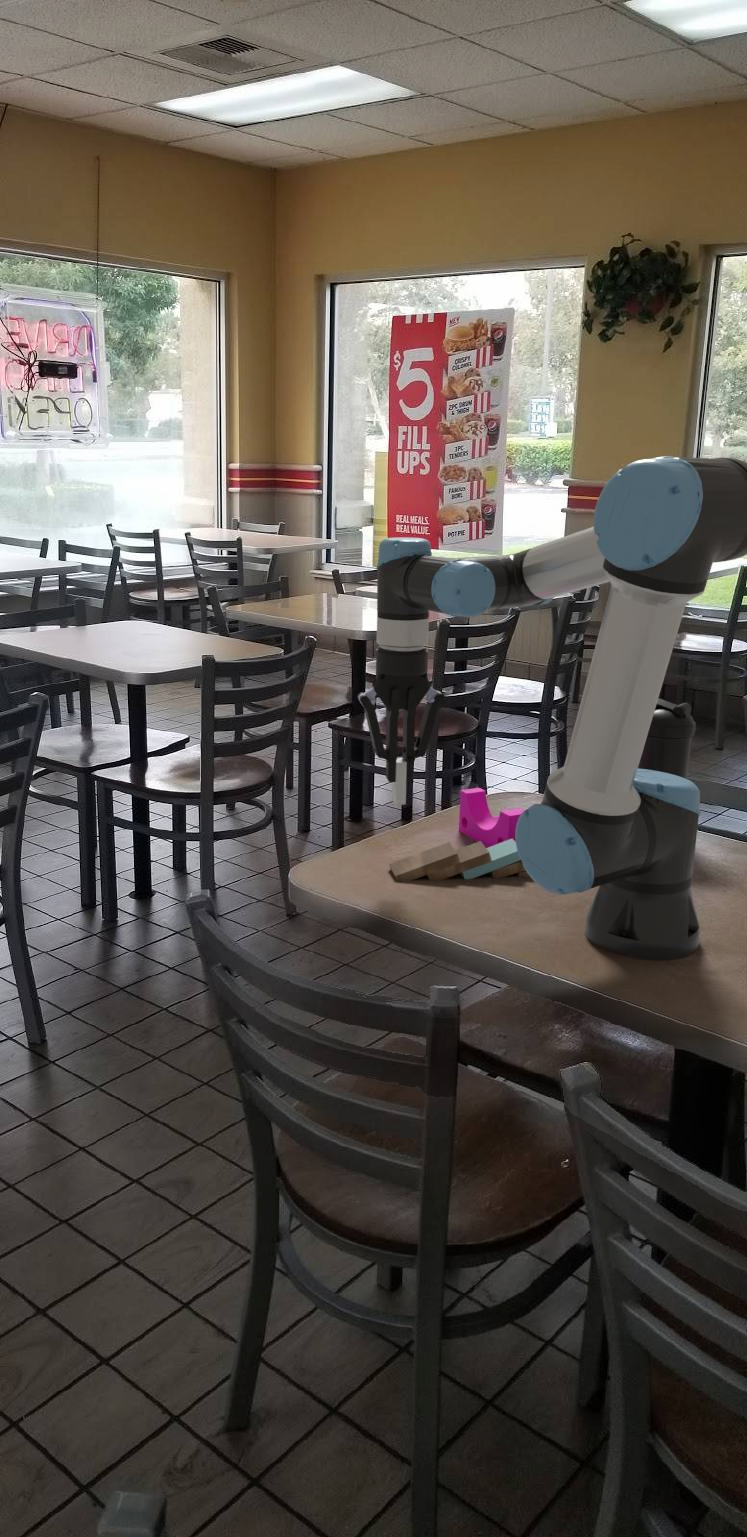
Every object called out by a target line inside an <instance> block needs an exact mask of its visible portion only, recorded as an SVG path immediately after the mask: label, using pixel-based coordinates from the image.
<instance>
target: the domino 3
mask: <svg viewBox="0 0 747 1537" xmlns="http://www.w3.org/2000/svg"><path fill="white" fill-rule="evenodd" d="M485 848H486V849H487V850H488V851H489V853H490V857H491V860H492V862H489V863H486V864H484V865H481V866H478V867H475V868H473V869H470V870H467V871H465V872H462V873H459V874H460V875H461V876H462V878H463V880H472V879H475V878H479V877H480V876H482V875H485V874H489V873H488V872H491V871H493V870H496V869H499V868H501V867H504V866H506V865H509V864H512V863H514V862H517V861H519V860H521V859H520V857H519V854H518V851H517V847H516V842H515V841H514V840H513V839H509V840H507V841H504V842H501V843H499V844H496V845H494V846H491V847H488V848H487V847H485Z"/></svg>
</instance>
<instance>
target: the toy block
mask: <svg viewBox="0 0 747 1537" xmlns="http://www.w3.org/2000/svg"><path fill="white" fill-rule="evenodd" d="M459 796H460V798H459V799H460V800H459V817H458V818H459V819H458V820H459V821H458V831H459V832H460V833H462V834H463V835H465V836H467V837H469V838H470V839H472V840H474V841H476V843H477V842H479V841H481V843H482V844H483V845H484V846H485V848H488V847H491V846H494V845H496V844H499V843H501V842H504V841H507V840H509V839H513V840H514V841H515V842H516V840H515V831H516V825H517V821H518V819H519V817H520V815H521V814H522V813H523V812H524V811H525V810H523V809H522V808H520V807H519V808H513V809H505V810H500V811H499V814H498V815H499V816H495V817H493V815H492V813H491V811H490V809H489V808H490V807H489V805H488V801H487V800H488V799H487V791H486V790H484V789H482V788H480V787H476V788H475V787H473V788H469V789H461V790H460V794H459Z"/></svg>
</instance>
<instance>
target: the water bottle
mask: <svg viewBox="0 0 747 1537" xmlns="http://www.w3.org/2000/svg"><path fill="white" fill-rule="evenodd" d="M692 710H693V709H692V706H691V704H690V703H688V702H683V703H681V704H675V703H673V702H670V701H667V700H666V699H665V700H664V699H662V698H659V697H658V701H657V704H656V708H655V711H654V714H653V718H652V721H651V725H650V728H649V731H648V735H647V738H646V742H645V745H644V748H643V752H642V755H641V759H640V762H639V765H638V769H647V770H653V771H659V772H664V773H669V774H673V775H676V776H679V777H682V778H685V779H687V775H688V771H689V770H688V769H689V760H690V753H691V747H692V746H691V745H692V738H693V737H694V735H695V734H696V725H697V723H696V722H695V721H694V718H693V716H692V714H691V712H692Z"/></svg>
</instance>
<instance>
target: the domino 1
mask: <svg viewBox="0 0 747 1537" xmlns="http://www.w3.org/2000/svg"><path fill="white" fill-rule="evenodd" d="M458 863H460V860H459V857H458V854H457V852H456V851H455V848H454V847H453V845H452V844H451V843H450V842H446V843H444V844H440V845H437V846H435V847H432V848H430V849H429V848H428V849H426V850H423V851H422V852H419V853H415V854H413V855H409V856H407V857H405V858H402V859H399V860H397V861H393V862H391V863H388V866H389V869H390V872H391V873H392V874H393V876H394V877H395V879H397V880H406V881H413V880H416V879H420V878H422V877H424V876H427V875H428V874H430V873H433V872H436V871H439V870H441V869H444V868H447V867H450V866H452V865H455V864H458ZM397 880H396V881H397Z"/></svg>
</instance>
